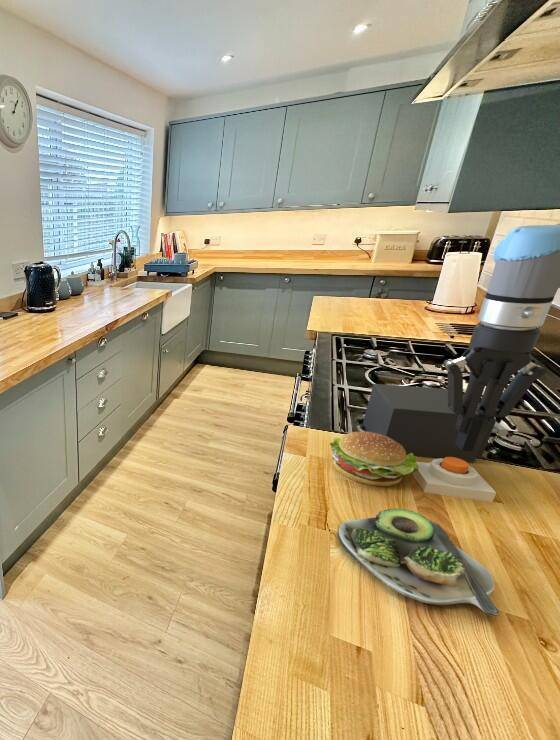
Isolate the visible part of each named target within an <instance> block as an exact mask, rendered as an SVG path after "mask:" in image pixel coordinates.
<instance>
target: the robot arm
mask: <svg viewBox="0 0 560 740" xmlns="http://www.w3.org/2000/svg"><path fill="white" fill-rule="evenodd" d="M492 256H493V261H494V267H493V271H492V274H491V276H490V279H489V284H488V286H487V289H486V293H485V296H484V297H483V301H482V304H481V306H480V310H479V313H478V316H477V318H476V319H477V320H478V321H479V322H478V323H476V324H475V326H474V328H473V331H472V334H471V337H470V340H469V345H468V348H467V349H466V350H465V351H464V352H463V353H462V355H461V357H459V358H456V359H453V360H450V359H445V360H444V361H443V362H442V365H443V366H444V368H445V370H446V372H447V389H448V407H449V408H450V409H451V410H452V411H453V412H454V413H455V414H459V417H458V420H457V422H456V425H455V428H456V429H457V430H458V431H459V433H458V436H457V439H456V442H455V444H456V445H457V446H458V447H459V448H460V449H461V450H462V451H473V449H474V446H475V443H476V441H477V438H478V435H479V434H484V433H485V432H486V430H487V427H488V424H489V422H492V421H495V420H496V418H503V419H504V418H506V417H508V416H509V414H510V413H511V412H512V411H513V409H514V408H515V407H516V405H517V404H518V403H519V402H520V400H521V399H522V398H523V397H524V395H525V394H526V392H528V390H529V389H530V387H532V385H533V384H534V382H535V381H537V380H538V379H540V378H541V377H543V376H544V375H545V374H546V373H547V372H548V370H547V369H546V368H545V367H543V366H540V365H539V364H537V363H534V362H532V360H533V357H532V354H531V352H532V351H533V350H534V349H535V347H536V344H537V341H538V340H539V336H540V334H541V330H540V328H539V327H542V326H543V325H544V323H545V321H546V318H547V316H548V313H549V311H550V308H551V306H552V303H553V301H554V299H555V296H556V295H557V292H558V290H559V289H560V222H559V223H556V224H543V225H542V224H537V225H535V224H534V225H532V224H531V225H520V226H516V227H514V228H512V229H510V230H509V231H508V232H507V234H506V235H505V237H504V236H503V238H502V239H501V240H499V242H498V243H497V245H496V246H495V248H494V250H493V255H492ZM465 366H466V367H467V368H468V370H469V371H470V372H469V374H468V375H469V376H468V377H469V380H468V383H467V385H466V389H465V391H464V375H463V372H464V371H465ZM515 374H516V375H515ZM513 375H514V377H513V378H512V380H511V377H512V376H513ZM510 380H511V381H510ZM505 387H506V388H505ZM463 395H464V397H463ZM477 407H479V408H478V410H477ZM476 410H477V412H478V415H477V414H475V413H476Z"/></svg>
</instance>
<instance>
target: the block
mask: <svg viewBox="0 0 560 740" xmlns="http://www.w3.org/2000/svg"><path fill="white" fill-rule="evenodd" d="M442 462H443V459H442V458H439V459H433V458H432V460H431V461H430V462H423V461H417V466H418V471H416V472H413V473H410V474H411V476H412V477H413V479H414V480H415V482H416V483H417V484H418V485H419V487H420V488H421V490H422V491H423V492H424V493H426V494H433V495H440V496H447V497H454V498H461V499H467V500H475V501H481V502H487V503H488V502H489V503H493V502H494V499H495V497H496V494H497V491H496V490H495V489H494V488H493V487H492V486H491V485H490V484H489V483H488V482H487V480H485V479H484V478H483V477H482V476H481V475H480V474H479V472H478V471H477V470H476V469H475V468H474V467H472V466H470V465H469V468H468V470H467V473H466V474H456V473H452V472H449V471H447V470H445V469H443V468H442V467H441V464H442Z"/></svg>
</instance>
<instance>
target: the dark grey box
mask: <svg viewBox="0 0 560 740" xmlns="http://www.w3.org/2000/svg"><path fill="white" fill-rule="evenodd" d="M463 397H464V394H463ZM478 408H479V406H478V407H477V410H478ZM477 410H476V413H475V414H477V415H478V412H477ZM458 417H459V414H455V413H454V412H453V411H452V410H451V409H450V408H449V407H448V388H440V387H439V388H438V387H437V388H436V387H423V386H411V385H410V386H409V385H398V384H397V385H396V384H381V383H373V384H372V386H371V391H370V395H369V399H368V401H367V405H366V410H365V414H364V418H363V422H362V426H363V427H364V429H365V430H366V432H372V433H377V434H381V435H384V436H386V437H389V438H391V439H393V440H394V441H396V442H397V443H399V444H400V445H402V446H403V448H404V449H405V451H406V455H408V454H410V453H413V455H414V457H415V458H425V459H432V460H433V459H439V458H442V459H444V458H445V457H455V458H459V459H462V460H464V461H466V462H467V463H468V464H474V463H475V461H476V459H477V458H476V456H477V453H478V451H479V448H480V446H481V443H482V441H483V438H484V436H485V433H486V432H485V433H484V434H479V435H478V438H477V441H476V443H475V446H474V449H473V451H462V450H461V449H460V448H459V447H458V446H457V445H456V444H455V442H456V439H457V436H458V433H459V431H458V430H457V429H456V428H455V425H456V422H457V420H458ZM489 423H490V422H489ZM488 425H489V424H488ZM487 428H488V427H487Z"/></svg>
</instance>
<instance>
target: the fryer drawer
mask: <svg viewBox="0 0 560 740" xmlns="http://www.w3.org/2000/svg"><path fill="white" fill-rule="evenodd" d="M493 433H494V434H497V435H498V436H500V437H505V436H507V435H508V434H509V431H508V430H507V429H506V428H505V427H504V426H503V425H501V424H500V423H499V422H498V421H497V419H495V421H492V422H490V423H489V425H488V428H487V430H486V433H485V436H484V438H483V441H482V443H481V446H480V448H479V451H478V453H477V456H476V458H475V459H479V460H480V459H482V457H483V455H484V452H485V450H486V447H487V445H488V442H489V439H490V437H491V435H492V434H493Z"/></svg>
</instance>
